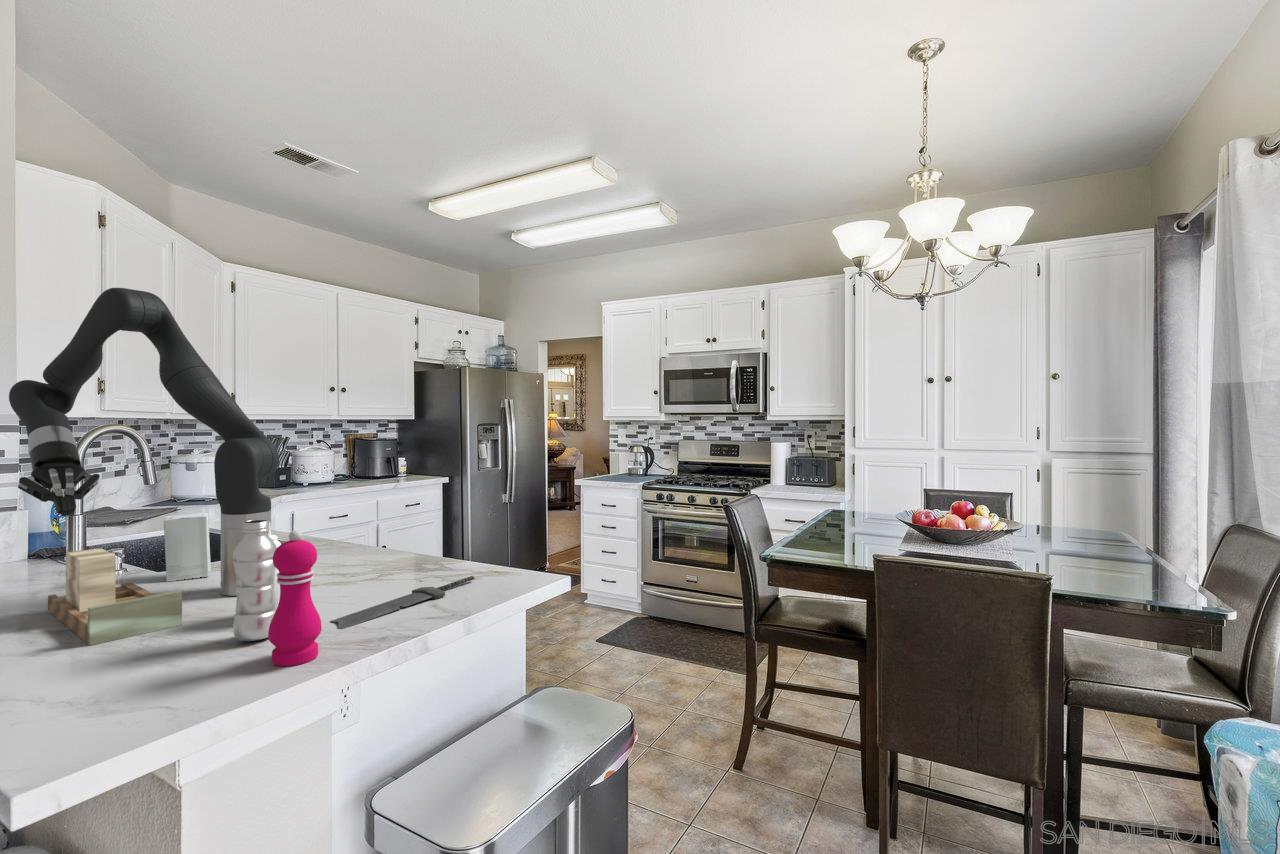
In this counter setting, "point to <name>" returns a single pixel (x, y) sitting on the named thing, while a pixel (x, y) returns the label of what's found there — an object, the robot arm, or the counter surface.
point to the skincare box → (187, 546)
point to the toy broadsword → (396, 604)
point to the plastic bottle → (254, 582)
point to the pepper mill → (294, 604)
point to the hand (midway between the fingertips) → (67, 513)
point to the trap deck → (120, 614)
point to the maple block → (90, 578)
